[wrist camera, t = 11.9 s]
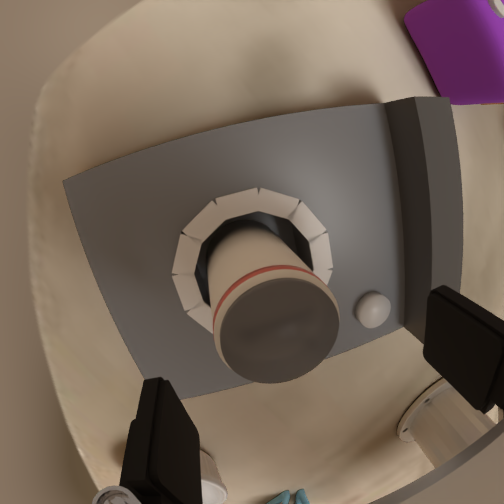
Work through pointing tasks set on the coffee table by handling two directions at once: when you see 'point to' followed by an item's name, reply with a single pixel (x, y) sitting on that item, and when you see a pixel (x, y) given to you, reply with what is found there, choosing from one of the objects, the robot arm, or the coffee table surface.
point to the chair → (284, 497)
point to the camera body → (276, 225)
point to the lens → (267, 305)
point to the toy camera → (462, 47)
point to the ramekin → (211, 481)
